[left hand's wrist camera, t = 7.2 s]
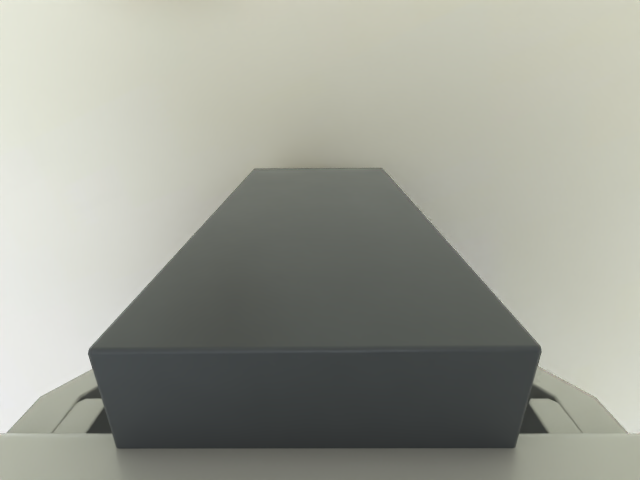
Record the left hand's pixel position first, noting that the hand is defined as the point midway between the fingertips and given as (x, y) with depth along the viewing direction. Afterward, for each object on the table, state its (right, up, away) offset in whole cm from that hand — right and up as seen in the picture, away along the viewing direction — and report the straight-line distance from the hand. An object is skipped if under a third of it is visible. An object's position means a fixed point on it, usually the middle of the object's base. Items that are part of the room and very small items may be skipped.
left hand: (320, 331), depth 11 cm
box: (0, -7, +11) cm, 13 cm away
